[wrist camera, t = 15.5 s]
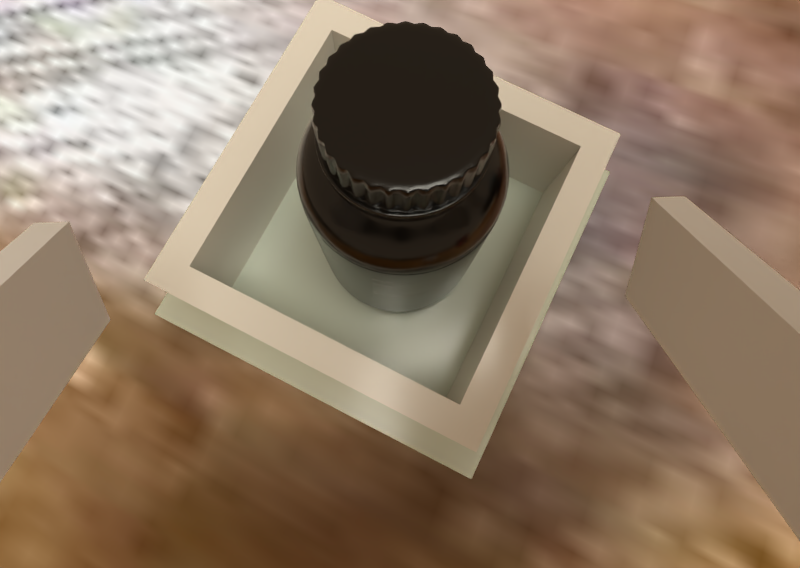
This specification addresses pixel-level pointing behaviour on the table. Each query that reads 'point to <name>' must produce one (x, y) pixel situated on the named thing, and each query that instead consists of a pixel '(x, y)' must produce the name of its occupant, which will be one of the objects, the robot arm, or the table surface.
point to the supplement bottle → (403, 163)
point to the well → (347, 316)
